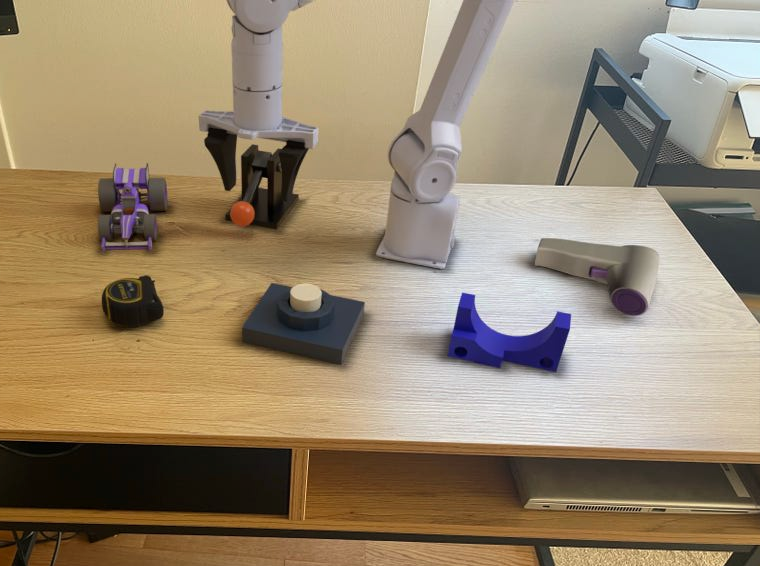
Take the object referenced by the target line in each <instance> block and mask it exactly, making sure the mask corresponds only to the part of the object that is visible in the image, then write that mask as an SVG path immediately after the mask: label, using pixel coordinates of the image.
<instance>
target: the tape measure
mask: <svg viewBox="0 0 760 566" xmlns="http://www.w3.org/2000/svg"><path fill="white" fill-rule="evenodd" d="M155 282H156V280H153V279H152V277H151V276H150V275H142V276H141V275H140V276H139V277H138V278H137V277H124V278H120V279H119V278H118V279H116V280H114V281H112V282H110V283H109V284H107V285H106V286H105V288H104V289H103V292H102V294H101V307H102V311H103V314H104V315H105V317H106V318H107V319H108V320H109V321H110V322H111V323H112V324H115V325H117V326H121V327H129V328H130V327H138V326H142V325H145V324H148V323H151V322H155V321H158V320H160V319H162V318H163V317H164V313H165V312H164V310H165V309H164V305H163V302H162V301H161V299H160V297H159V295H158V294H157V290H156V289H157V288H156V287H155V285H156V284H155Z"/></svg>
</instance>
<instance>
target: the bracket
mask: <svg viewBox="0 0 760 566" xmlns="http://www.w3.org/2000/svg"><path fill="white" fill-rule="evenodd" d="M281 149H282V148H276V150H275V151H274V152H272V156H271V157H270V158H269V159H268V172H267V178H266V179H267V180H266V181H267V182H266V183H267V187H266V188H264V187H259V188H258V190H257V192H256V195H255V197H254V200H253V202H252V207H253V209H254V212H255V216H254V219H253V221H252V222H251V223H250V224H249V225H250V226H255V227H261V228H267V229H272V230H278V229H279V227H280V226H281V225H282V223H283V222H284V221H285V219H286V218H287V216H288V215H289V214H290V212H291V211H292V210H293V208H294V207H295V206H296V204H297V203H298V202H299V199H300V197H299V196H300V194H299V193H294V192H293V193H292V196H291V197H290V199H289V200H288V201H287V202H285V201H282V198H281V187H282V172H281V163H280V158H279V151H280V150H281ZM257 150H259V145H258V144H251V145H250V146H248V147H247V149H246V150H245V151H244V152H243V153H242V154H241V155H240V168H241V169H240V171H241V173H240V178H241V179H240V181H241V196H240V197H239V198H238V199H237V201H235V203H237V202H240V201H243V198H244V196H245V194H246V191H247V189H248V186H249V184H250V182H251V179H252V177H253V169H252V162H253V160H254V158H255V155H256V153H257ZM230 211H231V208H229V210H228V211H227V212H226V213H225V215H224V217H225V218H224V219H225V221H228V222H233V221H232V219H231V216H230Z"/></svg>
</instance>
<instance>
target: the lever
mask: <svg viewBox="0 0 760 566" xmlns="http://www.w3.org/2000/svg"><path fill="white" fill-rule="evenodd" d="M272 155H273V152H272V151H264V150H259V149H258V150H257V153H256V155H255V158H254V160H253V162H252V169H253V177H252V179H251V182H250V184H249V186H248V189H247V191H246V194H245V196H244V198H243V201H240V202H237V201H236V202H237V203H236V202H235V203H234V204H233V205H232V206H231V207H230V209H231V211H230V216H231V219H232V221H231V222H232V223H233V224H235V225H237V226H239V227H247V226H249V225H250V223H251V222H252V221H253V219H254V216H255V212H254V209H253V207H252V202H253V200H254V197H255V195H256V192H257V190H258V188H260V185H261V182H262V181H263V178H264V179H267V172H268V159H269V158H270V157H271V156H272Z"/></svg>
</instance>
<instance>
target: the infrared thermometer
mask: <svg viewBox="0 0 760 566" xmlns="http://www.w3.org/2000/svg"><path fill="white" fill-rule="evenodd" d="M535 254H536V255H535V259H534V266H535V267H543V268H547V269H548V268H549V269H552V270H555V271H559V272H562V273H564V274H569V275H572V276H574V277H579V278H584V279H585V278H586V279H589V280H592V281H596V282H599V283H601V284H604V285H605V284H606V285H607V289H608V294H609V299H610V302H611V304H612V306H613V307H614V309H616V311H618V312H619V313H622V314H624V315H626V316H629V317H630V316H631V317H638V316H641V315H644V314H645V313H646V312H647V311H648V309H649V306H650V303H651V300H652V297H653V293H654V291H655V287H656V284H657V281H658V275H659V268H660V261H661V257H660V256H661V255H660V254H659V252H658V251H657V250H655V249H654V248H652V247H649V246H646V245H645V246H644V245H637V244H626V245H621V246H620V245H613V244H603V243H602V244H601V243H594V242H593V243H592V242H584V241H579V240H573V239H572V240H571V239H564V238H554V237H553V238H552V237H542V238H541V239H540V241H539V243H538V246H537V250H536V253H535Z"/></svg>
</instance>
